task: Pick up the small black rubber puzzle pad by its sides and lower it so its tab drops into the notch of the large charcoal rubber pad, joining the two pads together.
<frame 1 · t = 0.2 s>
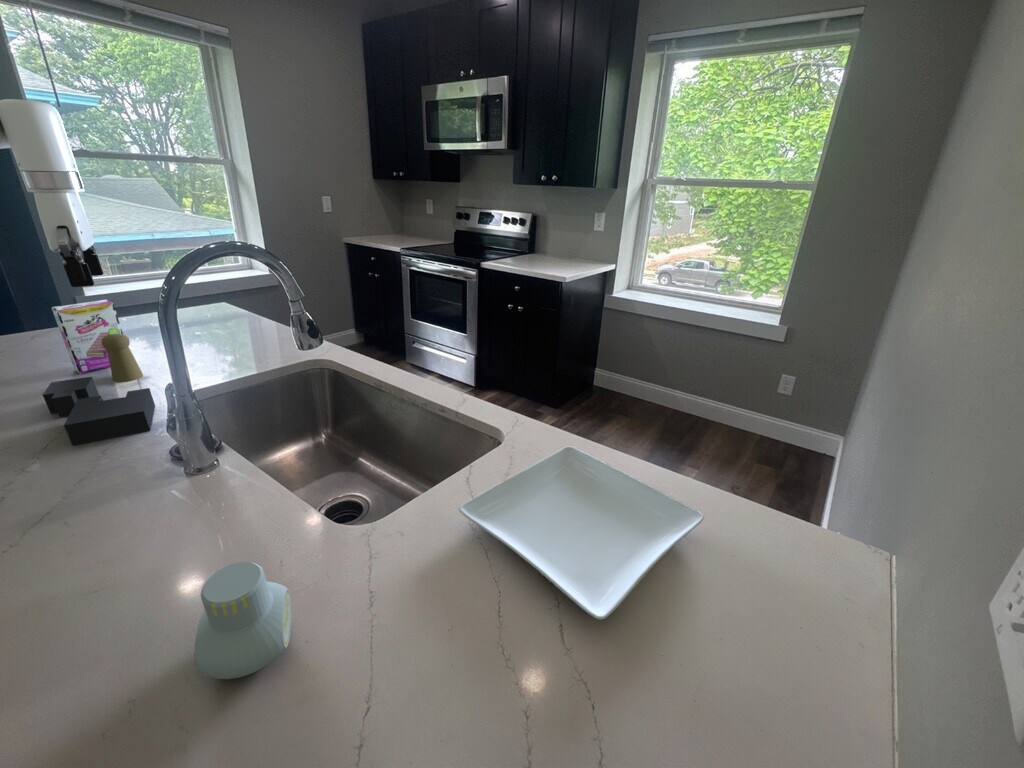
hand: (88, 280, 89), 28 cm above the worktop, tool pointing down, fingers open, 9 cm apart
air freshener: (252, 645, 53), on the worktop
candy bar box: (104, 366, 122), on the worktop
square plate: (579, 529, 72), on the worktop
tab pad: (75, 403, 103), on the worktop
notch pad: (117, 424, 96), on the worktop
cork: (128, 377, 116), on the worktop
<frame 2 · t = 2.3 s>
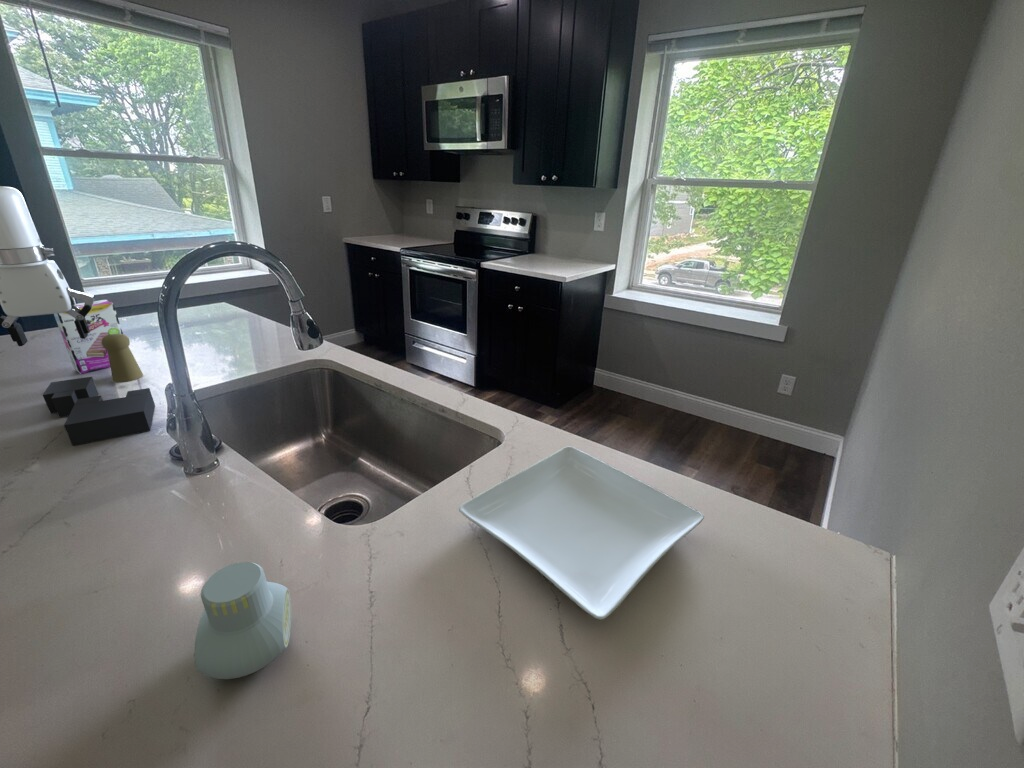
hand: (54, 340, 97), 15 cm above the worktop, tool pointing down, fingers open, 9 cm apart
nothing on the worktop moved.
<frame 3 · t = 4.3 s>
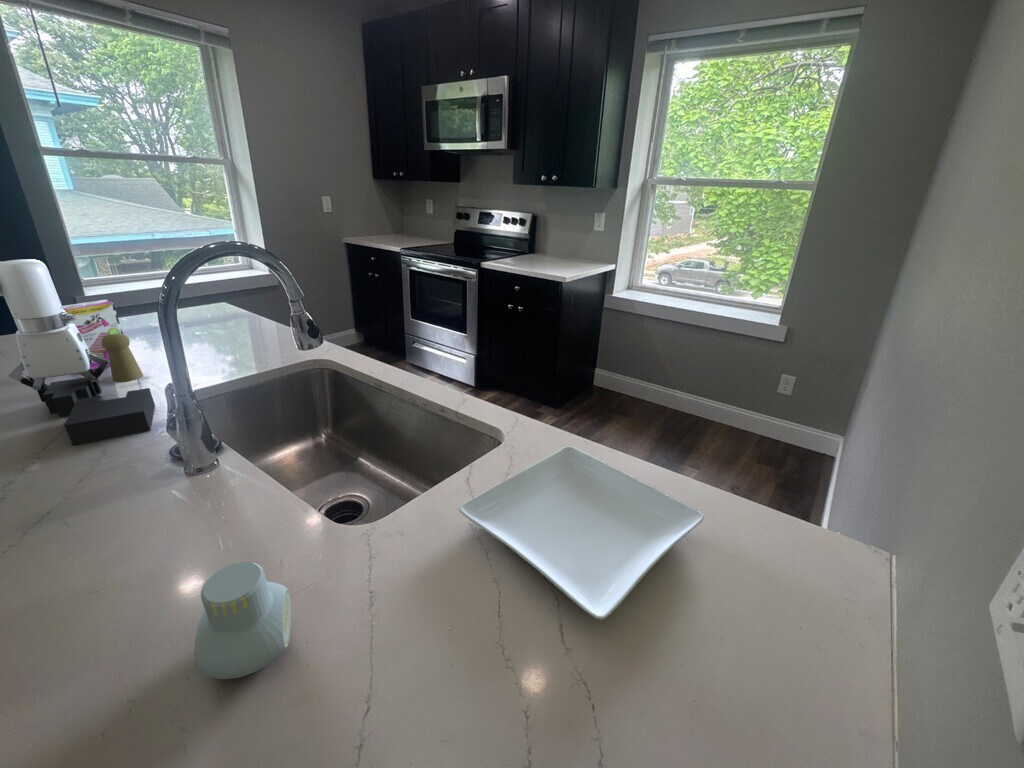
hand: (74, 399, 102), 1 cm above the worktop, tool pointing down, fingers closed on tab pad, 7 cm apart
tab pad: (75, 403, 103), on the worktop, touching gripper
everything else where it was.
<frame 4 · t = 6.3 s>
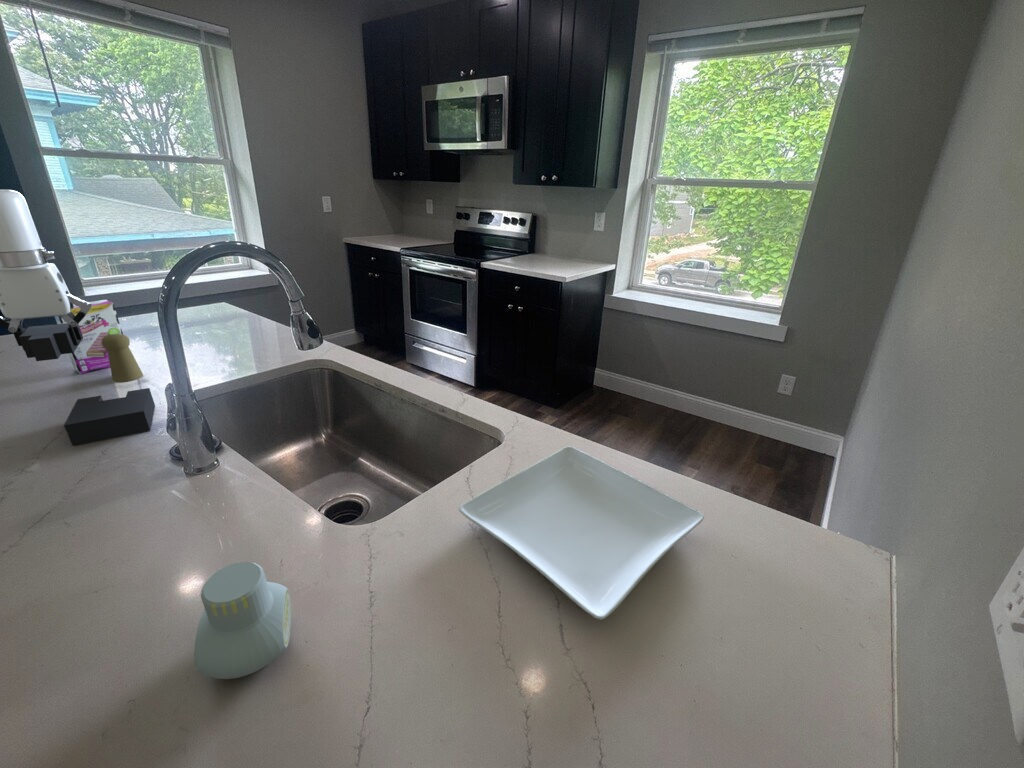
hand: (53, 345, 97), 14 cm above the worktop, tool pointing down, fingers closed on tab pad, 7 cm apart
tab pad: (55, 350, 97), point 13 cm above the worktop, touching gripper
everything else where it was.
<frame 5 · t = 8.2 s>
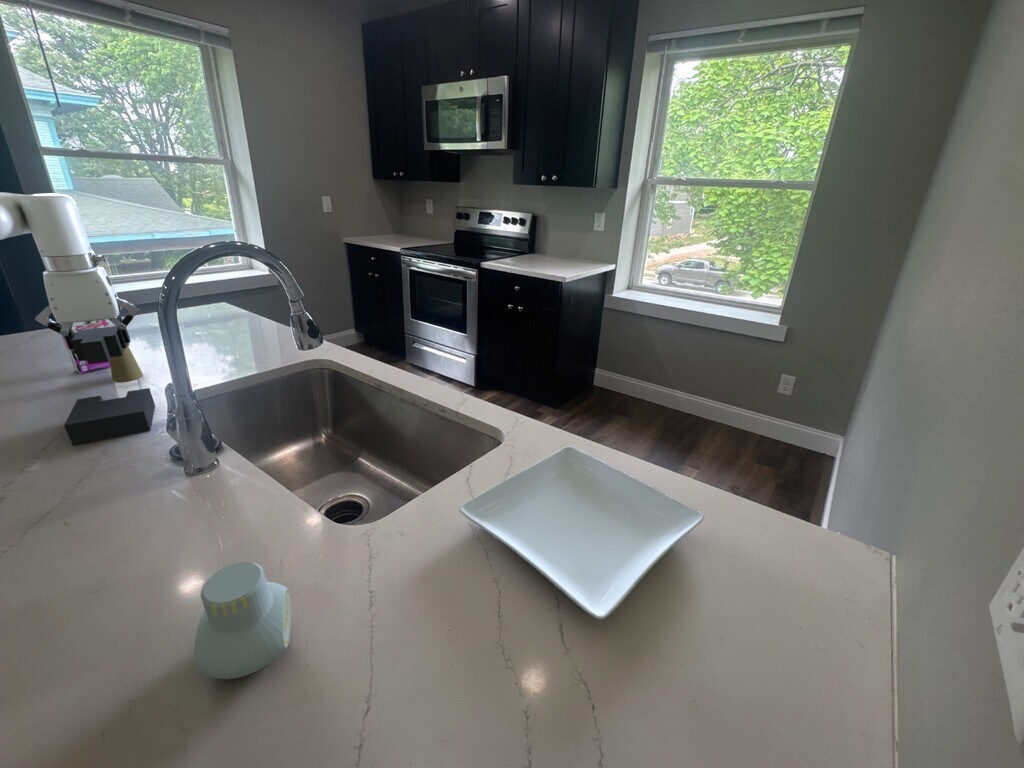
hand: (102, 348, 97), 13 cm above the worktop, tool pointing down, fingers closed on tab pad, 7 cm apart
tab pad: (103, 353, 98), point 12 cm above the worktop, touching gripper
everything else where it was.
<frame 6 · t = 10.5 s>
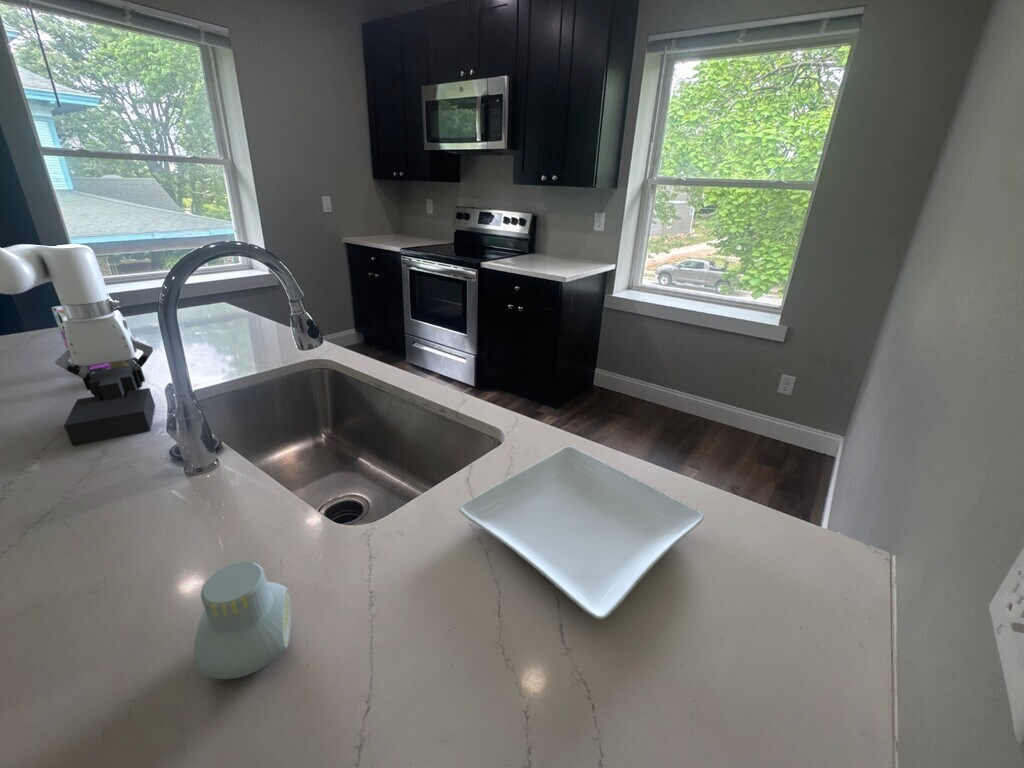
hand: (118, 388, 101), 4 cm above the worktop, tool pointing down, fingers closed on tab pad, 7 cm apart
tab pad: (119, 392, 102), point 3 cm above the worktop, touching gripper
everything else where it was.
when the fingers open (1 cm above the worktop, at t = 12.1 s): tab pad stays where it is, on the worktop.
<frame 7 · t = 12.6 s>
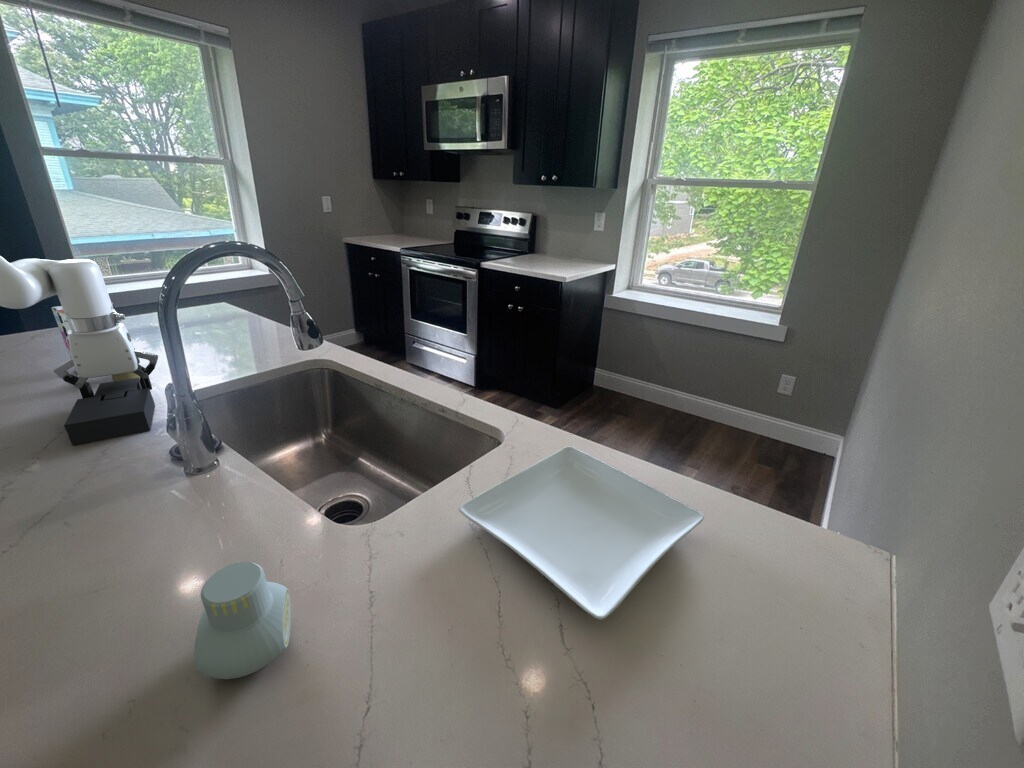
hand: (120, 397, 102), 2 cm above the worktop, tool pointing down, fingers open, 9 cm apart
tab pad: (124, 404, 103), on the worktop
everything else where it was.
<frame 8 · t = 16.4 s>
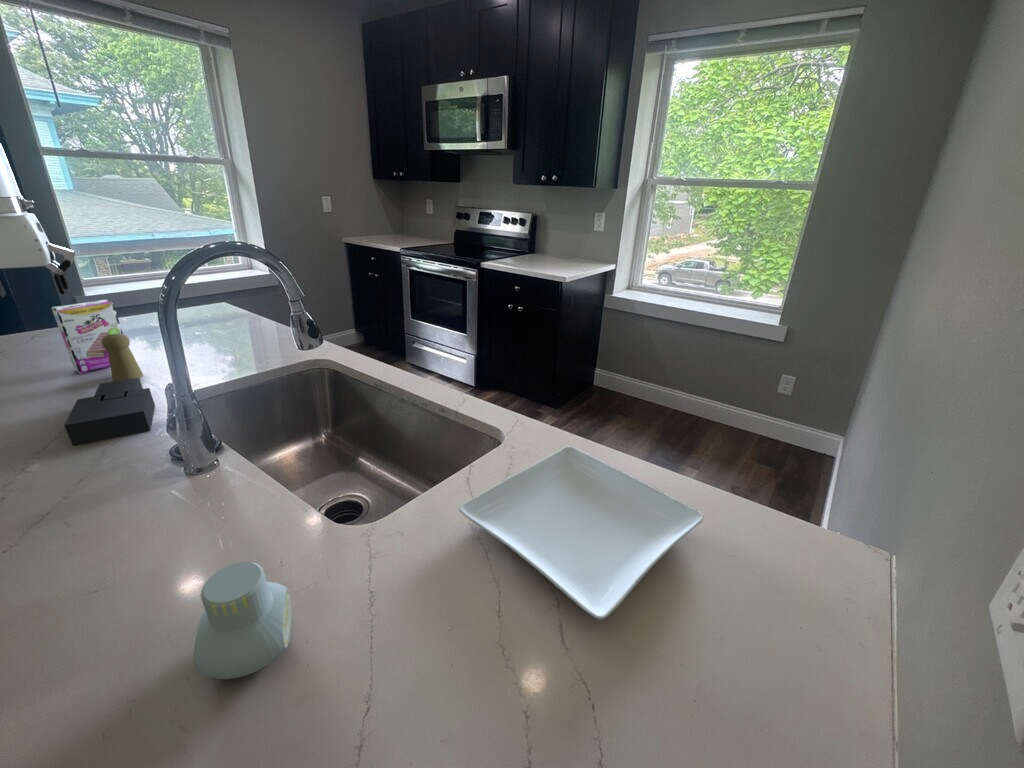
hand: (33, 294, 96), 23 cm above the worktop, tool pointing down, fingers open, 9 cm apart
nothing on the worktop moved.
at the end: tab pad 0.1 cm from the target spot on the worktop beside the notch pad, on the worktop; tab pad tilted 0°; the gripper is holding nothing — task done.
